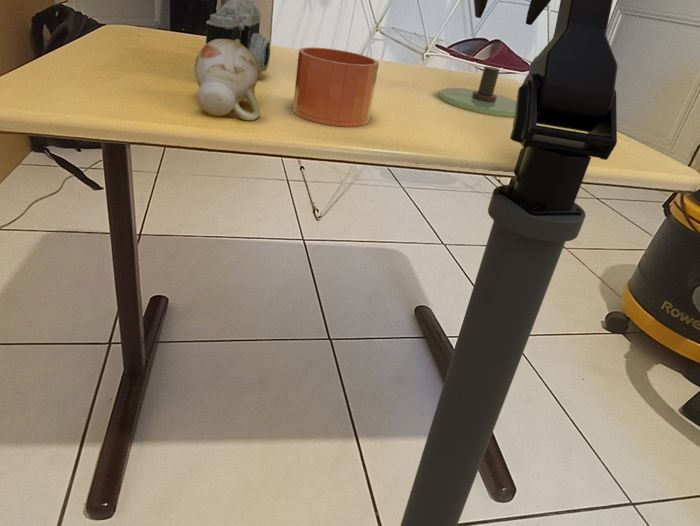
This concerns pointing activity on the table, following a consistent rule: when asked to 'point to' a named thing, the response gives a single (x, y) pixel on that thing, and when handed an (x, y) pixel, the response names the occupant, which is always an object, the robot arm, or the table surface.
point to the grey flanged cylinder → (487, 85)
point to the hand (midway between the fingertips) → (503, 21)
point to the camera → (240, 29)
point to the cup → (334, 86)
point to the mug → (226, 78)
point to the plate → (479, 102)
